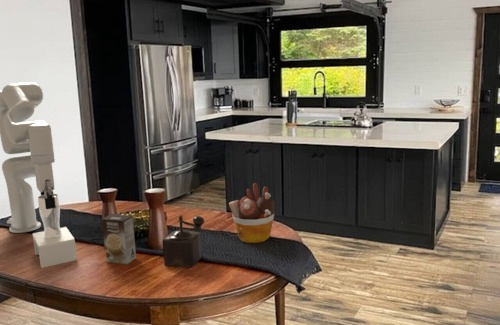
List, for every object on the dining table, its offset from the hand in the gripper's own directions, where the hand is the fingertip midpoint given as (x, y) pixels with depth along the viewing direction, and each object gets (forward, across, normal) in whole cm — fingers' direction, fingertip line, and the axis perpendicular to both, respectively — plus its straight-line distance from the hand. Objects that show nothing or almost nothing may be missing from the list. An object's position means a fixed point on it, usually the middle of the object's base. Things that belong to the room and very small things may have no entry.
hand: (48, 204), depth 176 cm
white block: (+20, +1, 0) cm, 20 cm away
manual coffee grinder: (+19, +35, +39) cm, 56 cm away
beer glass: (+12, 0, 0) cm, 12 cm away
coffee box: (+20, +19, +19) cm, 33 cm away
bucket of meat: (+19, +28, +69) cm, 77 cm away
